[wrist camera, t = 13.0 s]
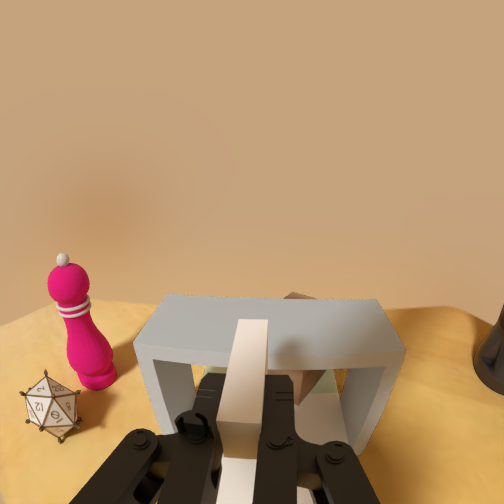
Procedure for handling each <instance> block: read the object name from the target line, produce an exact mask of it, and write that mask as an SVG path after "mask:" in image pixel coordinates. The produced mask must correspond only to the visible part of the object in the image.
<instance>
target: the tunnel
mask: <svg viewBox="0 0 504 504" xmlns="http://www.w3.org/2000/svg"><path fill="white" fill-rule="evenodd" d="M239 319H262V320H268V369H271V370H327V369H348V373H347V377H346V380H345V384H344V388H343V392H342V395H341V399H340V397H339V392H338V393H309V394H308V395H307V396H306V397H305V398H304V400H303V401H302V402H301V403H300V404H299V406H298V405H296V404H294V413H295V430H296V432H297V434H298V436H299V437H300V438H301V439H303V440H305V441H307V442H310V443H314V444H318V445H323V444H325V443H327V442H329V441H342V442H345V443H347V444H349V445H350V446H351V447H352V449H353V450H354V452H355V454H356V456H357V455H362V453H363V451H364V449H365V447H366V445H367V443H368V441H369V439H370V437H371V435H372V433H373V431H374V429H375V427H376V425H377V423H378V421H379V419H380V417H381V414H382V412H383V410H384V408H385V405H386V403H387V401H388V398H389V396H390V394H391V391H392V389H393V386H394V384H395V381H396V378H397V376H398V373H399V371H400V368H401V365H402V362H403V359H404V356H405V354H406V351H407V350H406V348H405V346H404V345H403V343H402V341H401V339H400V338H399V336H398V334H397V332H396V331H395V329H394V327H393V326H392V324H391V322H390V321H389V319H388V317H387V316H386V314H385V312H384V311H383V309H382V307H381V306H380V304H379V303H378V301H377V299H267V298H264V299H263V298H236V297H213V296H193V295H176V294H167V296H166V297H165V298H164V300H163V301H162V302H161V304H160V305H159V306H158V308H157V309H156V311H155V312H154V313H153V315H152V316H151V317H150V319H149V320H148V322H147V323H146V324H145V326H144V327H143V329H142V330H141V331H140V333H139V334H138V336H137V337H136V339H135V340H134V341H133V345H134V349H135V353H136V356H137V360H138V363H139V367H140V370H141V373H142V376H143V380H144V383H145V386H146V389H147V392H148V395H149V398H150V401H151V404H152V407H153V409H154V412H155V415H156V418H157V420H158V423H159V426H160V428H161V431H162V433H163V435H167V434H173V433H176V432H178V430H177V427H176V425H175V422H174V421H175V419H176V417H177V416H178V415H180V414H181V413H182V412H185V411H188V410H192V408H193V404H194V401H195V398H196V391H195V385H194V380H193V374H192V368H191V364H195V365H205V366H217V367H228V365H229V360H230V356H231V351H232V347H233V342H234V338H235V333H236V329H237V324H238V320H239ZM198 390H199V389H198ZM256 461H257V459H239V458H227V457H224V455H222V461H221V463H222V473H221V479H220V485H219V490H218V496H217V501H216V504H252V501H253V491H254V482H255V472H256ZM297 504H313V501H312V498H311V495H310V492H309V489H306V488H302V487H298V486H297Z"/></svg>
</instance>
